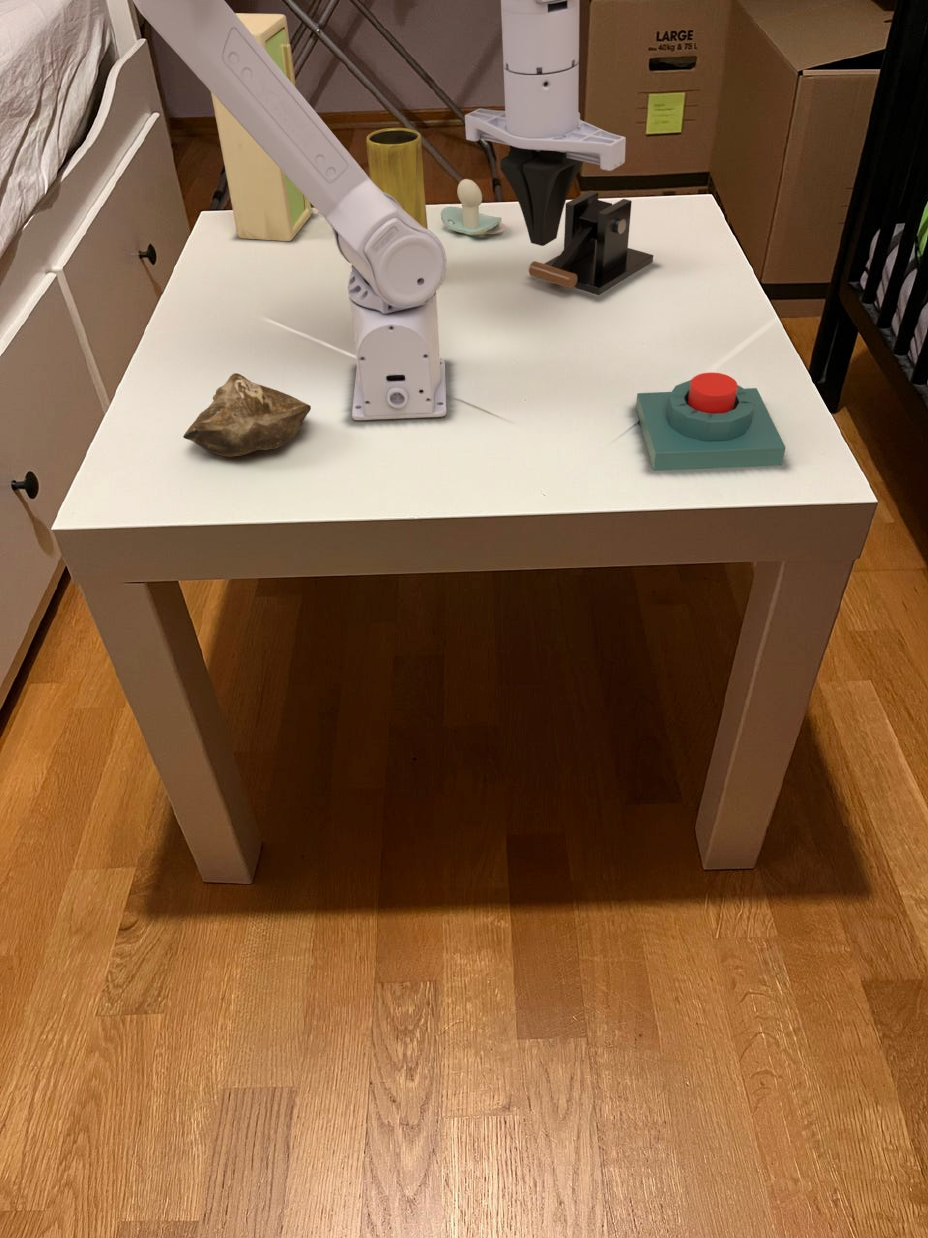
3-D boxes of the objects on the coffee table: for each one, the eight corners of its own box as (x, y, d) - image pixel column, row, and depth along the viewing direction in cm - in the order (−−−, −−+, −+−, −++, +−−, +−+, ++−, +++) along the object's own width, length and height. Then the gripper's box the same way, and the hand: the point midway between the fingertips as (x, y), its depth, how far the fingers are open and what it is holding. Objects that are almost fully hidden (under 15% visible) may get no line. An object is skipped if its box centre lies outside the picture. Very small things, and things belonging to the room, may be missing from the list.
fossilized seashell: (177, 455, 75) (308, 462, 77) (178, 366, 74) (311, 376, 76) (189, 451, 83) (309, 459, 84) (190, 371, 81) (311, 380, 83)
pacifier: (464, 218, 115) (434, 234, 111) (463, 162, 111) (432, 176, 107) (517, 231, 112) (488, 247, 108) (518, 173, 107) (488, 189, 104)
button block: (781, 466, 76) (790, 427, 74) (653, 471, 76) (658, 432, 74) (753, 405, 82) (760, 368, 80) (635, 410, 82) (639, 373, 80)
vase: (432, 292, 100) (424, 145, 90) (372, 293, 100) (358, 147, 91) (434, 267, 105) (427, 124, 95) (378, 268, 105) (364, 126, 95)
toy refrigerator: (297, 242, 111) (266, 31, 96) (236, 239, 112) (197, 30, 98) (319, 215, 116) (292, 13, 102) (261, 212, 118) (226, 12, 103)
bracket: (598, 299, 98) (603, 226, 93) (535, 279, 102) (536, 208, 97) (652, 265, 103) (660, 195, 98) (590, 247, 107) (594, 178, 102)
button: (739, 414, 76) (742, 394, 75) (692, 416, 76) (695, 396, 75) (728, 390, 78) (731, 371, 77) (683, 392, 78) (686, 372, 77)
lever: (571, 295, 97) (566, 276, 95) (531, 282, 99) (526, 264, 97) (627, 225, 99) (624, 206, 97) (587, 214, 101) (582, 195, 99)
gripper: (651, 61, 72) (641, 241, 82) (499, 38, 80) (506, 206, 89) (596, 88, 69) (592, 273, 78) (442, 62, 76) (456, 234, 85)
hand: (543, 240), depth 83 cm, fingers closed
